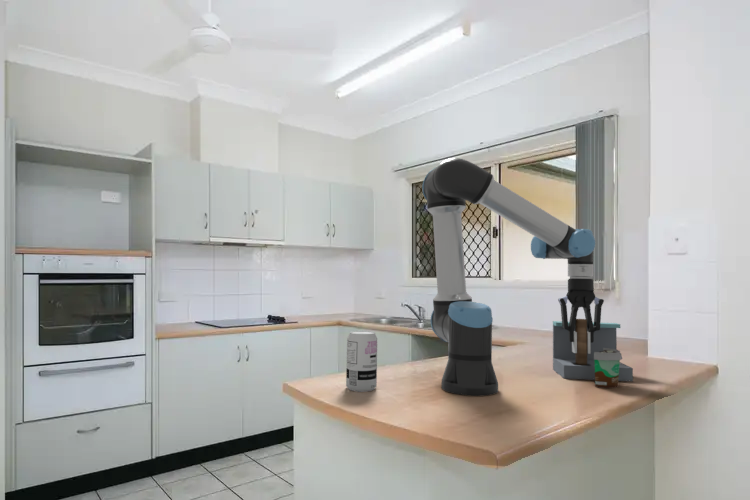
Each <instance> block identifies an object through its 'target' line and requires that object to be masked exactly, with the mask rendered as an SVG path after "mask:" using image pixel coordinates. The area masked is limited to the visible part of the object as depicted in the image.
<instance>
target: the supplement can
mask: <svg viewBox="0 0 750 500" xmlns="http://www.w3.org/2000/svg"><path fill="white" fill-rule="evenodd" d="M377 374H378V336H377V334H376V332H375V331H370V330H368V331H367V330H356V331H355V330H353V331H349V334H348V336H347V337H346V374H345V375H346V377H345V378H346V379H345V382H346V383H345V386H346V388H348V390H349V391H352V392H358V393H359V392H360V393H361V392H362V393H363V392H371V391H374V390H375V389H376V388H377V387H378V386H377V383H378V382H377V381H378V380H377V379H378V378H377V377H378V375H377Z"/></svg>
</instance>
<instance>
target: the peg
mask: <svg viewBox="0 0 750 500" xmlns="http://www.w3.org/2000/svg"><path fill="white" fill-rule="evenodd" d="M575 332H577V353H575V363H576V364H577V365H587V319H586V318H576V323H575Z"/></svg>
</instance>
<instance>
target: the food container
mask: <svg viewBox="0 0 750 500" xmlns="http://www.w3.org/2000/svg"><path fill="white" fill-rule="evenodd" d="M621 360H623V356H622V353H621V351H620V350H618V349H617V350H616V349H610V348H603V351H602V352H601V351H600V352H594V363H595V380H594V387H595V388H604V389H615V388H618V387H619V381H618V379H619V365H620V362H621Z"/></svg>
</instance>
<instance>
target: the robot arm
mask: <svg viewBox="0 0 750 500" xmlns="http://www.w3.org/2000/svg"><path fill="white" fill-rule="evenodd" d="M422 181H423V182H422V185H421V186H422V187H421V189H422V195H423V196H424V199H425V200H426V204H427V205H426V206H427V208H426V209H427V212H429V213H430V214H431V216H432V224H433V238H434V239H433V241H434V256H435V270H436V273H435V274H436V287H437V289H436V290H437V294H436V295H435V296H434V297H433V298H432V305H433V310H432V313H431V315H430V326H431V329H432V332H434V334H435V335H436V337H437V338H439V339H440V340H441V341H443V342H445V343H448V344H447V345H448V351H447V352H448V359H447V363H446V365H445V368H444V372H443V374H442V378H441V389H442V390H443V391H445V392H448V393H450V394H456V395H459V396H460V395H462V396H472V397H473V396H474V397H475V396H477V397H478V396H479V397H480V396H482V397H483V396H491V395H495V394H497V393H498V392H499V382H498V379H497V374H496V371H495V368H494V365H493V363H492V359H493V358H492V353H493V352H492V349H493V348H492V347H493V344H492V343H493V322H494V321H493V314H492V313H493V312H492V308H491V307H490V306H489V305H488V304H485V303H481V302H475V301H473V300H472V296H471V295H469V294H468V292H467V286H466V285H467V283H466V270H465V267H466V266H465V253H464V250H465V249H464V238H463V237H464V236H463V235H464V234H463V223H462V221H463V220H462V213H463V211H464V210H465V209H466V208H467V204H466V201H467V202H469V203H472V204H473V205H478V204H480V205H481V206H483V207H485V208H486V209H488V210H489V211H491V212H493V213H494V214H496V215H498V216H500V217H502V218H503V219H505V220H507V221H508V222H510V223H512V224H513V225H515V226H517V227H518V228H520V229H522V230H524V231H525V232H527V233H529V234H531V235H532V236H533V237H532V239H531V242H530V252H531V255H532V257H534V258H535V259H543V260H545V259H551V260H553V259H555V260H556V259H557V260H558V259H559V260H560V259H561V260H562V259H563V260H567V277H568V279H567V292H566V296H562V297H559V298H558V299H557V300H558V303H559V305H560V314H561V315H560V316H561V321H562V327H563V329H566V330H568V331H569V341H570V342H572V352H573V353H577V332H575V331H574V329H575V323H576V319H577V316H578V311H579V309H580V308H582V310H583V311H584V316H585V318H584V319H587V329H588V332H587V353H588V354H591V345H590V342H591V343H593V341H594V332H595V331H597V330H600V323H602V322H601V319H602V318H601V317H602V307H603V304H604V301H605V300H604V299H603V298H599V297H598V296H596V294H595V292H594V286H595V284H594V282H595V281H594V279H593V278H594V250H595V247H596V239H595V236H594V233H593V231H592V230H591V229H589V228H574V227H572V226H571V225H569V224H567V223H566V222H564V221H562V220H561V219H559V218H557V217H556V216H554V215H552V214H551V213H549V212H547V211H546V210H544V209H542V208H541V207H539V206H538V205H536V204H534V203H532V202H531V201H529V200H528V199H526V198H524V197H522V196H521V195H519V194H517V193H516V192H515V191H513V190H511V189H510V188H508V187H506V186H505V185H503V184H501V183H499V182H498V181H496V180H495V178H494V174H492V173H491V172H488V171H487V170H486V169H484V168H482V167H480V166H479V165H477V164H475V163H473V162H471V161H468V160H467V159H463V158H461V157H452V158H448V159H445V160H443V161H442V162H440V163H439V164H438V165H437V166H435V167H433V168H432V169H431V170H429V171H428V173H427V174H426V175H425V177H424V179H423V180H422ZM568 302H569V303H570V304H571V307H570V308H571V309H570V310H571V311H570V317H569V318H568V308H567V307H568V305H567V303H568ZM593 302H594V313H593V317H592V310H591V305H592V303H593ZM568 322H569V326H568ZM593 322H594V327H593Z"/></svg>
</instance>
